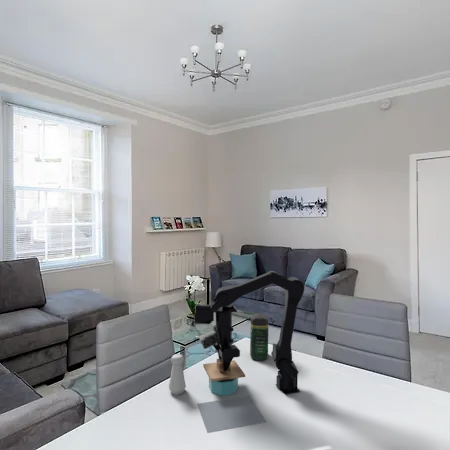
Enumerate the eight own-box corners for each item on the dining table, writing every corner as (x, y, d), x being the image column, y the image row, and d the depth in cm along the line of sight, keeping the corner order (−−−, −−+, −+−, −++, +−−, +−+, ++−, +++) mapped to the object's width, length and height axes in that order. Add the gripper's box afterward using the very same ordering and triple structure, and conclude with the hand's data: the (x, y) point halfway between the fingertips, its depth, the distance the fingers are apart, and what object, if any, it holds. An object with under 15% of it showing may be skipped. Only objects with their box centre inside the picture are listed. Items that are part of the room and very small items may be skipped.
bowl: (232, 381, 121) (232, 368, 121) (240, 394, 112) (240, 380, 112) (207, 385, 119) (207, 371, 119) (213, 398, 110) (213, 384, 110)
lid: (234, 362, 123) (234, 352, 123) (245, 376, 111) (245, 365, 111) (203, 366, 120) (203, 355, 120) (211, 381, 108) (211, 370, 108)
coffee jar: (269, 361, 139) (269, 318, 139) (250, 360, 139) (250, 317, 139) (267, 352, 149) (267, 311, 148) (249, 351, 149) (250, 311, 149)
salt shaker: (182, 398, 110) (182, 359, 109) (166, 396, 111) (166, 358, 111) (187, 389, 115) (188, 353, 115) (172, 387, 116) (172, 351, 116)
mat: (249, 397, 110) (249, 395, 110) (267, 423, 96) (267, 421, 96) (196, 405, 105) (196, 403, 105) (207, 434, 91) (207, 432, 91)
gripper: (196, 318, 122) (196, 359, 122) (207, 334, 104) (207, 383, 104) (224, 316, 125) (224, 356, 125) (240, 331, 107) (240, 379, 107)
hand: (223, 367), depth 115 cm, fingers closed on lid, 4 cm apart
